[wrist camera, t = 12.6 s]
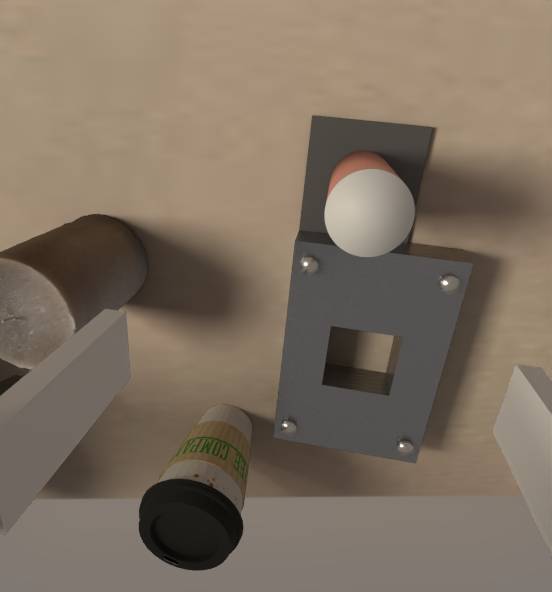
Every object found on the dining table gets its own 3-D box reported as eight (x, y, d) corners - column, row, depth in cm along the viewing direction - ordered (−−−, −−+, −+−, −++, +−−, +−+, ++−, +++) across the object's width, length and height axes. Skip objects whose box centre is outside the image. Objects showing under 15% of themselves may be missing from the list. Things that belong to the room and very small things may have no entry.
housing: (278, 414, 50) (272, 441, 46) (299, 229, 41) (294, 242, 37) (410, 436, 48) (416, 467, 44) (462, 249, 40) (475, 265, 35)
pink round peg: (326, 209, 40) (319, 251, 28) (334, 147, 37) (331, 164, 26) (385, 216, 39) (404, 262, 27) (398, 153, 37) (424, 174, 25)
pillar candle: (51, 215, 45) (-79, 264, 31) (139, 211, 43) (42, 261, 29) (76, 301, 48) (-30, 378, 35) (158, 301, 47) (79, 381, 33)
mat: (299, 229, 41) (299, 230, 41) (312, 115, 37) (312, 115, 37) (406, 242, 40) (407, 243, 40) (431, 127, 36) (432, 127, 36)
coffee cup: (281, 415, 50) (256, 529, 36) (247, 469, 54) (213, 590, 40) (204, 377, 50) (150, 478, 36) (176, 435, 54) (118, 545, 40)
